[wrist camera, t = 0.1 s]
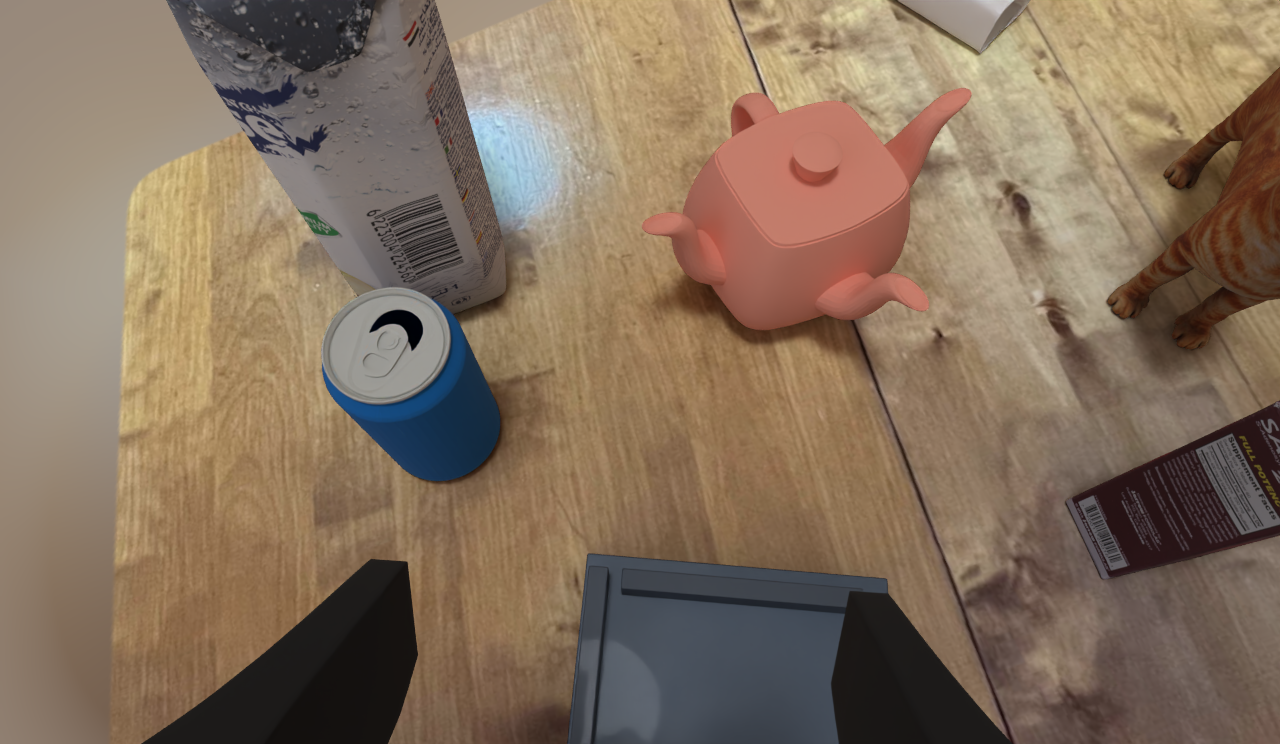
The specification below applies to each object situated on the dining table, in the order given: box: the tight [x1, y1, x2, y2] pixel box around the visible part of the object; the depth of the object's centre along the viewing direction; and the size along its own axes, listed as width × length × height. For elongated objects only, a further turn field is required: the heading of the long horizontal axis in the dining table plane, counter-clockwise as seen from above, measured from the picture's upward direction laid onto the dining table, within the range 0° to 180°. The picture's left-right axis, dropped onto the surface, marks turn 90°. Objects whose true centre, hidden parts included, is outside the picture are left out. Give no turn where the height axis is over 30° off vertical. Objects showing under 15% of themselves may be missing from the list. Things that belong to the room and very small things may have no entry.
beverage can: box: [321, 287, 500, 481], centre depth 39 cm, size 6×6×12 cm
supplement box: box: [1066, 401, 1280, 579], centre depth 36 cm, size 9×5×16 cm, turn 104°
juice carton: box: [166, 0, 506, 314], centre depth 37 cm, size 9×10×27 cm
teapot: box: [642, 88, 971, 330], centre depth 44 cm, size 14×14×11 cm
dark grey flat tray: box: [567, 554, 888, 744], centre depth 38 cm, size 16×13×4 cm
